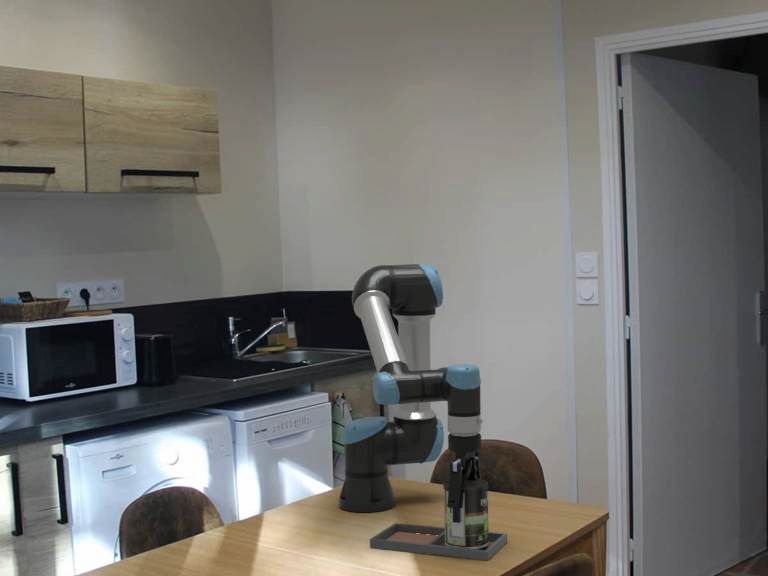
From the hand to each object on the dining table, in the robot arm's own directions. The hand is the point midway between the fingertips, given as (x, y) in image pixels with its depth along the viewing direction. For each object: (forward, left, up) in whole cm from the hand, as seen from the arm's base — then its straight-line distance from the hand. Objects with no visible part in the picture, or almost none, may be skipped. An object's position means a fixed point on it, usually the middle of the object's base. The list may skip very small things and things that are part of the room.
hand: (466, 529), depth 225 cm
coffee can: (0, 0, -4) cm, 4 cm away
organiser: (0, -7, -4) cm, 8 cm away
